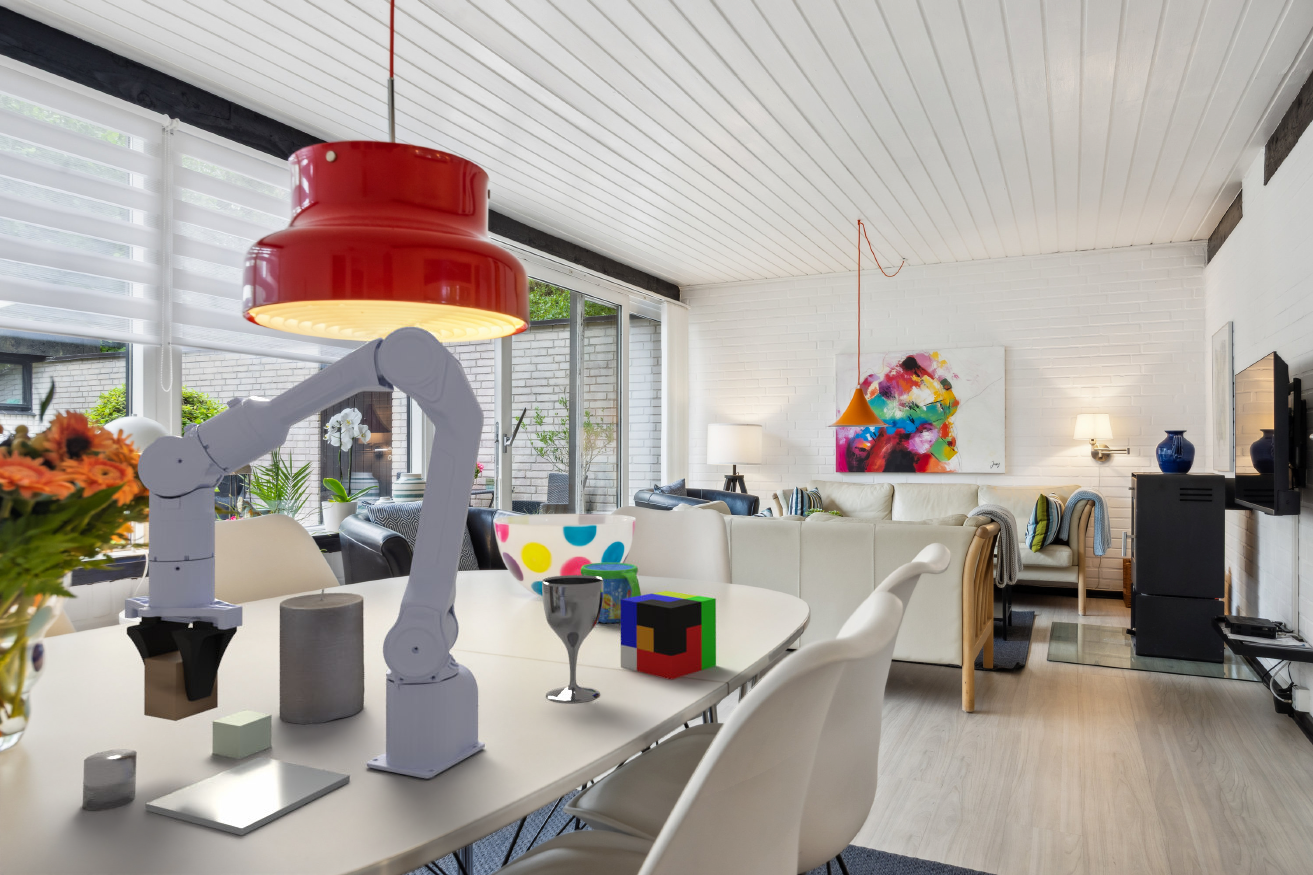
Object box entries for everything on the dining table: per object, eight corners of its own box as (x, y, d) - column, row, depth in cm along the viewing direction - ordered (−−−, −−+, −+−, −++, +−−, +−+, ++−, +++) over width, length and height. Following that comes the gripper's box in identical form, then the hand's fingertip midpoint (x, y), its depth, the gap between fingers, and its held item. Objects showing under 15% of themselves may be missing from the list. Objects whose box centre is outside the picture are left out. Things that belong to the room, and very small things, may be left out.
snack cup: (656, 623, 150) (656, 568, 151) (609, 630, 144) (609, 573, 144) (609, 610, 163) (609, 559, 163) (563, 616, 157) (563, 563, 157)
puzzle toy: (620, 667, 120) (620, 599, 120) (666, 654, 128) (665, 590, 128) (671, 679, 113) (670, 608, 114) (716, 665, 121) (715, 598, 121)
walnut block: (187, 701, 84) (187, 648, 84) (217, 707, 82) (217, 652, 82) (144, 715, 80) (144, 658, 80) (175, 720, 78) (175, 663, 78)
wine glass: (535, 690, 108) (535, 577, 109) (592, 683, 112) (591, 573, 112) (551, 707, 101) (551, 586, 101) (612, 699, 104) (611, 582, 105)
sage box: (245, 741, 90) (245, 709, 90) (271, 747, 88) (271, 714, 88) (212, 754, 86) (212, 720, 86) (239, 759, 85) (239, 726, 85)
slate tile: (260, 762, 83) (259, 756, 83) (349, 781, 79) (349, 775, 79) (145, 810, 72) (145, 803, 72) (242, 835, 68) (242, 827, 68)
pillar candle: (302, 698, 105) (301, 582, 105) (376, 698, 105) (376, 582, 105) (263, 725, 95) (262, 596, 95) (345, 725, 95) (344, 596, 95)
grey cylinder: (119, 788, 77) (120, 746, 77) (144, 797, 75) (146, 753, 75) (73, 804, 73) (74, 759, 74) (98, 814, 72) (100, 768, 72)
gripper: (94, 559, 80) (93, 697, 80) (195, 567, 75) (195, 716, 74) (162, 551, 87) (162, 679, 87) (260, 557, 81) (260, 694, 81)
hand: (181, 695), depth 81 cm, fingers closed on walnut block, 4 cm apart
